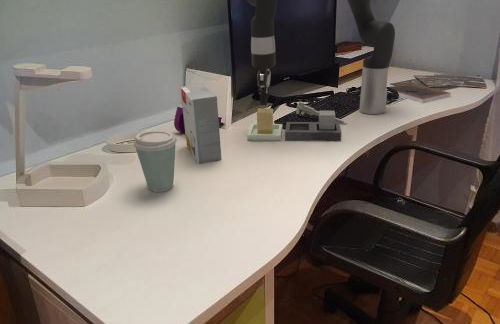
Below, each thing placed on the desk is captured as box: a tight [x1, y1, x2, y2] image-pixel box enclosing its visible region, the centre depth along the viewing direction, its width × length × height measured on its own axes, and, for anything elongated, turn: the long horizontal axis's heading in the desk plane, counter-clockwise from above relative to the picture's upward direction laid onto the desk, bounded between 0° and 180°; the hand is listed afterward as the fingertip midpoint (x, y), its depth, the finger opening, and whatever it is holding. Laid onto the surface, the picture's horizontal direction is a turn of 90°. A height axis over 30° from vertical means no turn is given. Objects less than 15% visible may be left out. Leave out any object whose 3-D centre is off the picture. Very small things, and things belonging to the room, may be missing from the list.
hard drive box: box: [179, 83, 222, 165], centre depth 126 cm, size 16×8×20 cm, turn 21°
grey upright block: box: [318, 110, 336, 131], centre depth 138 cm, size 5×5×8 cm
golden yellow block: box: [256, 108, 274, 134], centre depth 140 cm, size 5×5×8 cm
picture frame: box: [388, 82, 452, 104], centre depth 180 cm, size 16×2×22 cm
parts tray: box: [246, 123, 283, 142], centre depth 142 cm, size 11×11×2 cm
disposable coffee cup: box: [133, 129, 177, 193], centre depth 107 cm, size 11×11×15 cm
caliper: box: [295, 100, 348, 126], centre depth 153 cm, size 20×1×6 cm, turn 55°
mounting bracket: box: [173, 106, 223, 134], centre depth 149 cm, size 10×8×18 cm
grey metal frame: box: [284, 121, 342, 142], centre depth 139 cm, size 18×10×3 cm, turn 83°
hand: (264, 100), depth 137 cm, fingers open, 8 cm apart
